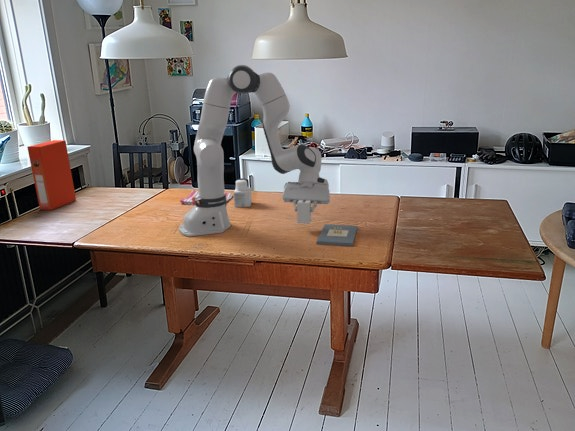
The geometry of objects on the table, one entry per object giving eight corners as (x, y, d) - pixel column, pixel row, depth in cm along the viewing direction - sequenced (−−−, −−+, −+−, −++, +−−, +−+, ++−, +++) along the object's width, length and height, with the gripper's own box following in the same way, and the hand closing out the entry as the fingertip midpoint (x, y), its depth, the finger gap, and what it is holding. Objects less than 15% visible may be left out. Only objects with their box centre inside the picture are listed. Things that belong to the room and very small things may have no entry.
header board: (324, 226, 219) (324, 218, 218) (357, 228, 216) (357, 220, 214) (316, 243, 200) (316, 235, 199) (352, 246, 197) (352, 237, 196)
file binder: (39, 209, 256) (27, 146, 246) (63, 199, 272) (53, 140, 261) (52, 210, 254) (40, 147, 243) (76, 200, 269) (65, 140, 259)
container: (236, 202, 257) (235, 177, 252) (251, 202, 256) (250, 177, 252) (234, 207, 249) (232, 181, 245) (250, 206, 249) (248, 181, 245)
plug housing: (299, 219, 217) (299, 199, 214) (311, 220, 216) (311, 199, 213) (297, 223, 213) (297, 202, 210) (309, 223, 212) (309, 202, 209)
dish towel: (192, 195, 272) (191, 189, 271) (233, 197, 268) (233, 190, 267) (179, 205, 257) (178, 198, 255) (223, 206, 252) (223, 200, 251)
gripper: (283, 177, 218) (278, 206, 212) (330, 180, 213) (327, 209, 207) (286, 185, 223) (281, 213, 217) (332, 187, 219) (328, 216, 213)
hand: (303, 211), depth 212 cm, fingers closed on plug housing, 5 cm apart
